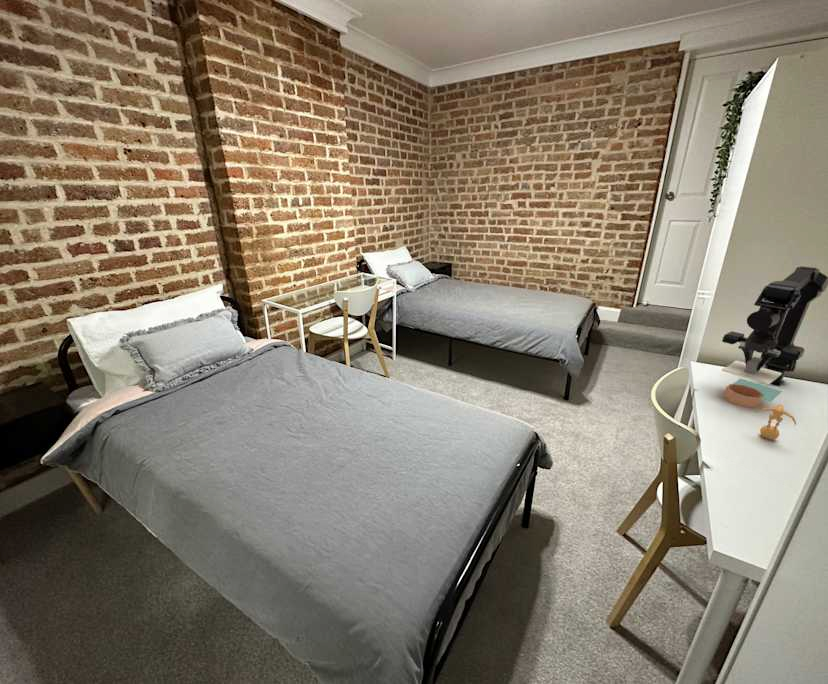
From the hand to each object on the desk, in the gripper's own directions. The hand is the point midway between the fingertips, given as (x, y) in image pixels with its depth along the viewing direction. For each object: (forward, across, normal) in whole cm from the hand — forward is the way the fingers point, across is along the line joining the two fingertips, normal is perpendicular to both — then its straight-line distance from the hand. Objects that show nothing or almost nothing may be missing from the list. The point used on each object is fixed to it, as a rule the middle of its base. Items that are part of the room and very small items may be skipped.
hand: (752, 368), depth 120 cm
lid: (+1, 0, 0) cm, 1 cm away
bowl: (+12, 0, 0) cm, 12 cm away
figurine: (+12, +12, -20) cm, 26 cm away
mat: (+12, 0, +12) cm, 17 cm away
